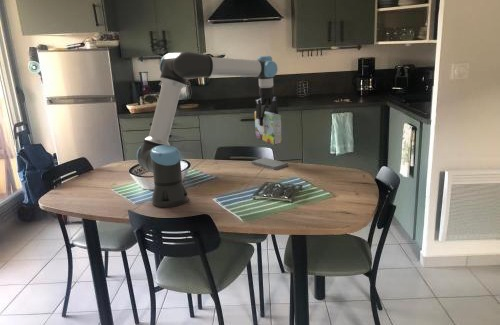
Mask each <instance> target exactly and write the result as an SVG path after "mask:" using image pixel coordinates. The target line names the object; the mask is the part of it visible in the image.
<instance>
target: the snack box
mask: <svg viewBox="0 0 500 325" xmlns="http://www.w3.org/2000/svg"><path fill="white" fill-rule="evenodd" d="M253 114H254V128H255V129H254V130H255V138H256V139H258V140H261V141H263V142H266V143H268V144H271V145H273V146H274V145H279V144H282V143H283V141H282V140H283V139H282V115H281V114H279V113H278V114H274V113H270V111H266V110H265V113H264V118H263V120H265V132H261V129H260V124H259V119H256V110H255V111H254V113H253Z"/></svg>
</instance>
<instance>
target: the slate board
mask: <svg viewBox="0 0 500 325" xmlns="http://www.w3.org/2000/svg"><path fill="white" fill-rule="evenodd" d="M253 164H254V165H253ZM251 165H253V166H258V167H262V168H266V169H268V170H269V169H270V170H272V169H273V171H276V170H279V169H282V168H285V166H286V167H288V166H289V164H288V162H284V161H281V160H276V159H272V158H270V157H269V158H268V157H262V158H259V159H255V160H251Z"/></svg>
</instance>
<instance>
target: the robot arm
mask: <svg viewBox="0 0 500 325" xmlns="http://www.w3.org/2000/svg"><path fill="white" fill-rule="evenodd" d="M159 71H160V77H159V80H160V82H161V87H160V91H159V95H158V99H157V104H156V107H155V110H154V115H153V119H152V123H151V127H150V130H149V134H148V136H146V137H145V138H144V139H143V142H142V145H140V146H139V148H138V149H137V151H136V160H137V161H136V162H137V163H138V165H139V166H140V167H141V168H142V169H144V170H145V171H147V172H150V173H152V175H153V176H152V177H153V184H154V188H153V192H152V197H151V202H152V205H153V206H155V207H158V208H173V207H178V206H181V205H183V204H185V203H187V202H188V201H189V195H188V192H187V189H186V188H185V185H184V183H183V175H182V166H181V163H182V162H181V155H180V151H179V148H177V147H176V146H174V145H171V144H170V142H169V138H170V134H171V131H172V126H173V122H174V119H175V115H176V111H177V107H178V103H179V100H180V96H181V92H182V89H183V88H185V87H186V86H187V82H188V80H192V79H200V78H208V79H209V78H210V77H212V76H216V77H217V76H219V77H220V76H221V77H222V76H225V77H240V78H253V77H254V78H258V87H259V88H258V93H259V98H258V99H255V104H256V105H255V111H256V119H259V124H260V129H261V132H265V120H263V118H264V113H265V111H266V109H267V108H268V110H269V111H268V112H270V113H274V114H278V115H279V107H278V97H277V96H274V91H275V90H274V78H275V76H276V75H277V73H278V64H277V63H276V62H275V61H273V57H272V56H270V55H263V56H258V57H257V60H255V59H243V58H242V59H241V58H228V57H227V58H226V57H212V56H211V55H210V54H203V53H200V52H199V53H198V52H193V51H187V50H185V51H184V50H183V51H170V52H167V53H166V54H165V55H163V56H162V58H160V62H159Z"/></svg>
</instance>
